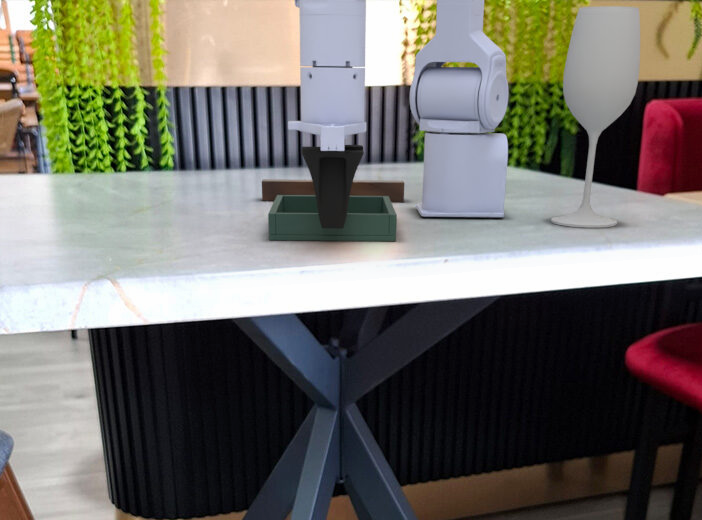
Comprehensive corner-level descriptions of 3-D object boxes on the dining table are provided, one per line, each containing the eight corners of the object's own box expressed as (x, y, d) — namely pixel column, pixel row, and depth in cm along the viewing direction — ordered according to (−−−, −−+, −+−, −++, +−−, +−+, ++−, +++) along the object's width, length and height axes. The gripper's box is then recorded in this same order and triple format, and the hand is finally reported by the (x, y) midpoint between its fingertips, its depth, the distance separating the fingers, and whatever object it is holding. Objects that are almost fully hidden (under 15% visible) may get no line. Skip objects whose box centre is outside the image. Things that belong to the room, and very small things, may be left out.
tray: (388, 219, 100) (388, 196, 99) (395, 241, 87) (396, 214, 86) (277, 218, 100) (276, 194, 99) (268, 240, 87) (268, 213, 86)
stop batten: (402, 200, 116) (403, 180, 114) (403, 202, 114) (404, 182, 113) (263, 198, 115) (262, 179, 114) (262, 200, 113) (261, 180, 112)
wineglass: (585, 230, 95) (611, 4, 86) (534, 220, 101) (555, 8, 92) (633, 224, 99) (663, 8, 90) (582, 215, 104) (606, 11, 95)
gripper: (290, 67, 85) (293, 215, 91) (282, 66, 72) (286, 239, 78) (364, 68, 85) (362, 216, 91) (370, 67, 72) (367, 240, 78)
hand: (332, 227), depth 84 cm, fingers closed
